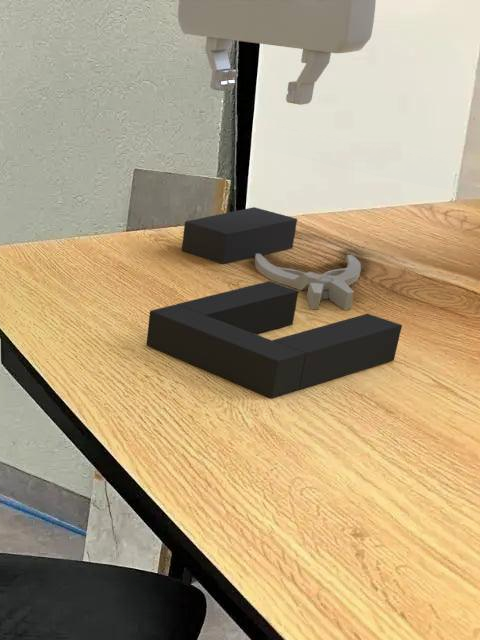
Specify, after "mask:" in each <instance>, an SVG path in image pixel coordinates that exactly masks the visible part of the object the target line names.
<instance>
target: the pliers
mask: <svg viewBox="0 0 480 640" xmlns="http://www.w3.org/2000/svg"><path fill="white" fill-rule="evenodd" d="M253 262H254V267H255V269H256V270H257V271H258V272H259V273H260V274H261V275H262V276H264V277H266V278H267V279H269V280H271V281H272V282H274V283H277V284H279V285H282V286H286V287H290V288H293V289H295V290H298V291H304V290H306V289H308V290H307V294H306V299H307V302H308V305H309V307H310V309H311V310H319V309H320V308H319V307H320V305H319V304H321V301H322V300H329V301H330V300H331V301H330V302H332V303H333V302H334V303H333V304H335V305H336V306H338V307H339V308H340V309H342V310H343V311H350V310H351V309H352V306H353V300H354V295H355V291H354V290H353V288H351V287H350V286H352V285H354V284H355V283H357V281H358V280H359V279H358V278H360V276H361V271H362V265H361V262H360V261H359V259H357V257H356V256H354V255H352V254H346V257H345V264H346V263H347V265H346V267H343V268H335V269H332V270H328V271H325V272H324V273H322V274H321V273H315V272H314V271H312V270H311V271H308V272H306V271H305V272H304V271H302V270H297V269H293V268H287V267H280V266H275V265H274V264H273V263H271V262H269V261H268V260H267V259H266V258H265V256H263V255H261V254H256V255H255V257H254V261H253ZM354 282H355V283H354ZM353 283H354V284H353ZM351 284H352V285H351ZM349 285H350V286H349ZM328 298H330V299H328Z"/></svg>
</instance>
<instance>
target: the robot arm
mask: <svg viewBox="0 0 480 640" xmlns="http://www.w3.org/2000/svg"><path fill="white" fill-rule="evenodd" d="M376 2H377V0H178V5H177V6H178V8H177V21H178V24H179V27H180V30H181V33H183V34H184V35H192V36H198V37H205V38H206V41H205V54H206V57H207V60H208V63H209V66H210V70H211V79H210V89H211V90H214V91H218V92H219V91H220V92H227V91H232V90H234V88H235V86H236V82H235V79H236V78H237V72H238V71H237V69H233V68H231V62H230V58H229V52H228V50H230V49H232V47H233V41H238V42H245V43H253V44H261V45H268V46H275V47H276V46H277V47H283V48H284V47H285V48H291V49H299V50H302V53H301V59H300V62H301V64H305V65H304V67H303V69H302V71H301V72H300V74H299V76H298V77H297V79H296V80H295V81H288V85H287V94H286V96H285V98H286V99H285V101H286V102H287V103H288V104H293V105H299V106H303V105H308V104H309V103H311V101H312V99H313V95H314V88H315V85H316V84H315V83H316V82H317V81H318V80H319V78H320V77H321V75H322V74H323V73H324V71H325V69H326V68H327V67H328V65H329V63H330V62H331V55H332V54H347V53H348V54H349V53H354V52H359V51H361V50H362V49H364V48H365V46H366V45H367V43H368V42H369V41H370V39H371V37H372V33H373V30H374V29H373V28H374V22H375V13H376Z"/></svg>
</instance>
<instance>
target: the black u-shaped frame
mask: <svg viewBox="0 0 480 640" xmlns="http://www.w3.org/2000/svg"><path fill="white" fill-rule="evenodd" d="M298 296H299V289H295V288H292V287H289V286H286V285H283V284H280V283H277V282H274V281H270V280H268V281H264V282H260V283H255V284H252V285H248V286H244V287H238V288H236V289H232V290H228V291H224V292H223V291H222V292H220V293H219V292H218V293H216V294H212V295H208V296H207V295H206V296H203V297H199V298H196V299H191V300H186V301H184V302H179V303H176V304H171V305H168V306H164V307H160V308H156V309H152V310H149V316H148V327H147V335H146V346H148V347H150V348H153V349H155V350H157V351H160V352H162V353H165V354H167V355H170V356H172V357H174V358H176V359H179V360H181V361H183V362H185V363H188V364H191V365H192V366H195V367H197V368H200V369H202V370H205V371H207V372H209V373H212V374H214V375H216V376H218V377H221V378H224V379H226V380H228V381H230V382H233V383H235V384H237V385H240V386H243V387H245V388H246V389H249V390H252V391H254V392H257V393H259V394H261V395H263V396H266V397H268V398H271V399H273V398H277V397H279V396H283V395H287V394H289V393H292V392H296V391H299V390H303V389H305V388H309V387H312V386H316V385H319V384H322V383H325V382H329V381H331V380H335V379H339V378H341V377H344V376H348V375H351V374H354V373H358V372H361V371H364V370H367V369H371V368H374V367H377V366H380V365H384V364H386V363H390V362H393V361H395V358H396V353H397V348H398V344H399V341H400V336H401V331H402V327H403V325H402V324H401V323H398V322H396V321H395V322H394V321H392V320H388V319H385V318H382V317H379V316H376V315H373V314H370V313H365V314H360V315H356V316H354V317H350V318H347V319H344V320H343V319H342V320H340V321H336V322H332V323H329V324H325V325H322V326H317V327H314V328H311V329H308V330H304V331H300V332H297V333H293V334H289V335H285V336H283V337H282V336H281V337H279V338H275V339H269V338H267V337H265V336H262V335H259V334H261V333H266V332H269V331H272V330H276V329H280V328H283V327H287V326H290V325H293V324H294V318H295V315H296V309H297V302H298Z"/></svg>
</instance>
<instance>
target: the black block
mask: <svg viewBox="0 0 480 640" xmlns="http://www.w3.org/2000/svg"><path fill="white" fill-rule="evenodd" d="M297 223H298V218H297V217H292V216H288V215H285V214H281V213H277V212H273V211H269V210H266V209H263V208H259V207H255V206H253V207H249V208H244V209H239V210H234V211H229V212H224V213H220V214H215V215H210V216H205V217H200V218H195V219H191V220H186V221H184V227H183V236H182V243H181V251H182V252H186V253H188V254H192V255H194V256H198V257H201V258H204V259H207V260H210V261H213V262H216V263H219V264H222V265H224V264H229V263H234V262H238V261H242V260H246V259H250V258H255V255H256V254H261V255H262V256H263V255H267V254H271V253H275V252H280V251H285V250H290V249H292V248H294V241H295V236H296V235H295V234H296V229H297Z"/></svg>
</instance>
